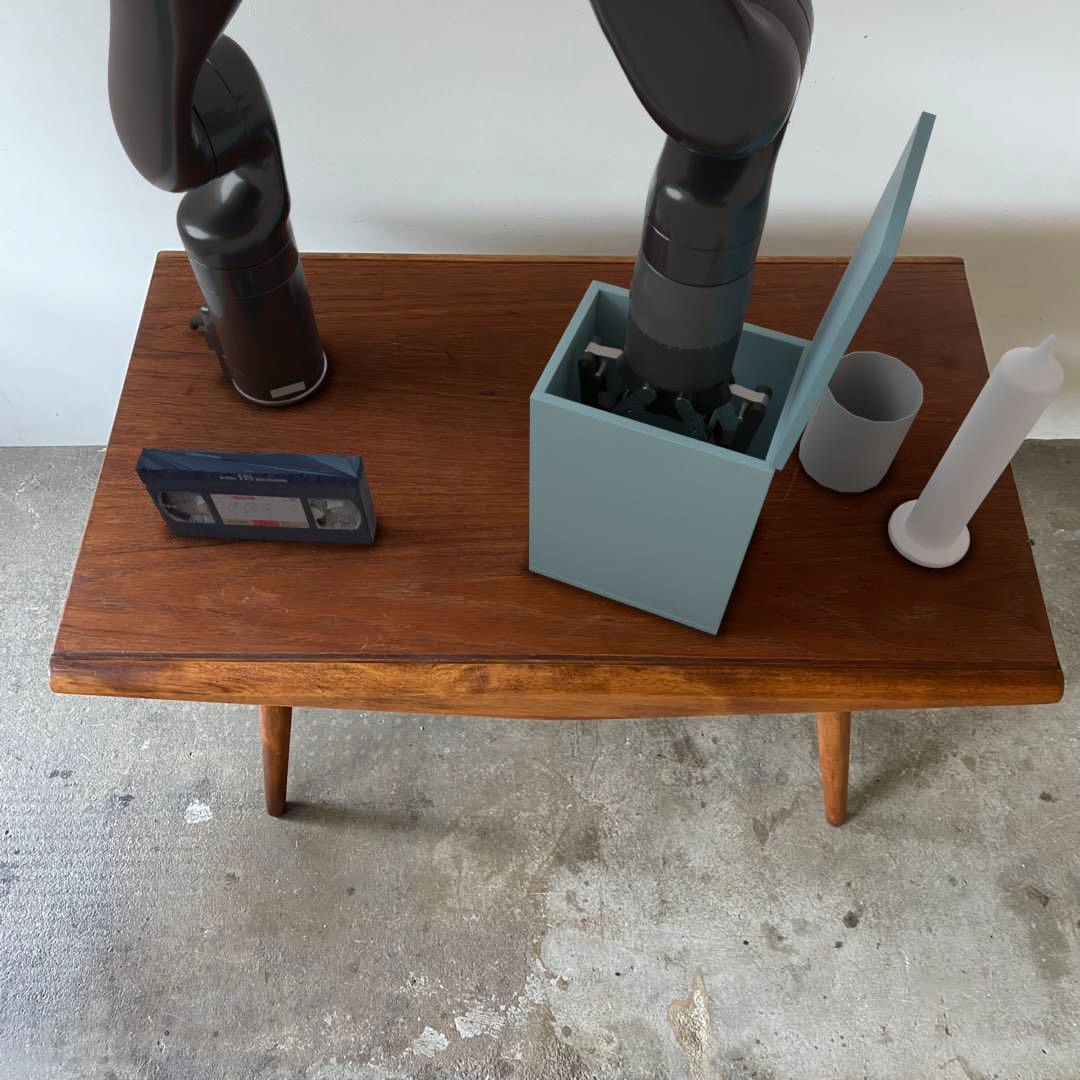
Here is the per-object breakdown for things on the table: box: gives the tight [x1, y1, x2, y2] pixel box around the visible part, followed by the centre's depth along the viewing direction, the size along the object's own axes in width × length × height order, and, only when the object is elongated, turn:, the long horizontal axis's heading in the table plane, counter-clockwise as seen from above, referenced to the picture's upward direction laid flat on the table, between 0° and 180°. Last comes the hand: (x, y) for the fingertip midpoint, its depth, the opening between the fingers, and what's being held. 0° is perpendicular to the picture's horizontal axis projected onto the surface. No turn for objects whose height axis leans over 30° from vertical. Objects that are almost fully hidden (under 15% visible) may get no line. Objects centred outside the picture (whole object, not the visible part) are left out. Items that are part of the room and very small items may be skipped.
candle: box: [887, 333, 1065, 569], centre depth 77 cm, size 7×7×25 cm
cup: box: [798, 351, 924, 493], centre depth 88 cm, size 8×8×10 cm
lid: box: [770, 110, 937, 471], centre depth 57 cm, size 18×13×1 cm
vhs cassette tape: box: [134, 447, 378, 545], centre depth 82 cm, size 18×3×10 cm, turn 86°
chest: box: [528, 279, 813, 636], centre depth 77 cm, size 17×13×23 cm
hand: (658, 462), depth 76 cm, fingers closed on snail figurine, 6 cm apart
